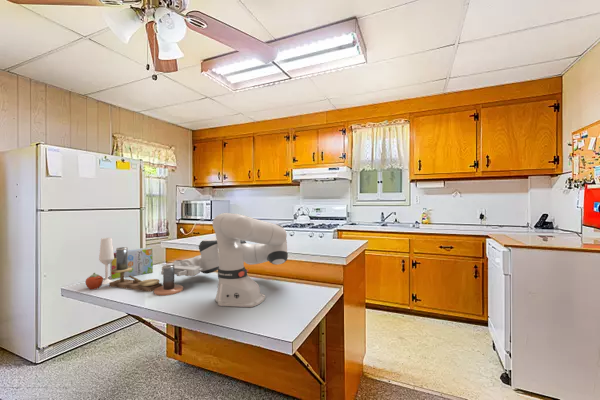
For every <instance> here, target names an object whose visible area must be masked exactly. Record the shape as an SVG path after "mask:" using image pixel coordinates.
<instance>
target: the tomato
mask: <svg viewBox="0 0 600 400" xmlns="http://www.w3.org/2000/svg"><path fill="white" fill-rule="evenodd" d="M103 281H104V277H103V276H102V275H99V274H97V273H96V272H93V273H92V274H91V275H89V276H88V277H87V278H86V279H85V281H84V282H85V285H86V287H87V288H88V289H89V290H98V289H100V287H101V286H102V285H103V284H102V283H103ZM97 288H98V289H97Z"/></svg>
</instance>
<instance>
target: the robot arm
mask: <svg viewBox="0 0 600 400" xmlns="http://www.w3.org/2000/svg"><path fill="white" fill-rule="evenodd" d="M212 228H213V231H214V234H215V239H214V238H207V239H203V240H201V242H200V243H199V244H198V250H199V253H200V254H199V255H195V256H194V257H190V258H185V259H178V260H173V262H169V263H167V264H165V265H174V275H175V276H177V277H182V276H187V277H194V276H196V275H199V274H202V273H203V274H205V275H206V274H211V273H214V272H216V271H217V279H218V283H217V285H218V286H217V291H216V296H215V299H214V300H215V302H216V303H217V306H220V307H221V306H222V307H238V308H239V307H241V308H243V307H244V308H252V307H255V306H256V307H257V306H258V305H260V304H262V303H263V302H264V301H265V300H266V295H265V294H263V293H261V289H260V285H259V284H258V282H256V281H255V280H254V279H252V277H250V276H249V275H248V272H249V270H250V268H248V269H246V267H245V265H244V263H245V264H247V265H258V264H263V263H264V264H265V263H266V262H269V263H271V264H272V265H276V266H277V265H282V264H284V263H286V262H287V260H288V257H289V255H288V242H287V236H288V235H287V231H286V229H285V228H284V226H282V225H280V224H275V223H272V222H269V221H265V220H262V219H261V220H260V219H256V218H253V217H250V216H247V215H244V214H241V213H231V212H223V213H220V214H217V215H216V216H215V217H214V218H213V219H212ZM247 242H250V243H255V244H250V243H247ZM165 265H162V267H161V271H160V275H162V276H163V266H165ZM200 272H201V273H200Z"/></svg>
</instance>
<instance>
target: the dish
mask: <svg viewBox="0 0 600 400" xmlns="http://www.w3.org/2000/svg"><path fill="white" fill-rule="evenodd" d="M183 291H184V286H183V285H181V284H178V283H177V284H176V283H174V288H173V289H170V290H164V289H163V285H162V286H160V287H158V288H156V289H155V290H154V291H153V294H154V295H156V296H172V295H175V294H176V295H177V294H179V293H180V292H183Z"/></svg>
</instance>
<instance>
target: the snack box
mask: <svg viewBox="0 0 600 400" xmlns="http://www.w3.org/2000/svg"><path fill="white" fill-rule="evenodd" d="M113 253H114V259H113V261H112V262H111V263H110V264H109V265H110V271H109V272H110V278H111V280H114V278H115V279H120V273H113V272H112V270H113V269H115V268H116V250H113ZM153 265H154V263H153V248H152V247H144V248H143V247H141V248H133V249H128V267H132V270H131V271H128V272H124V278H126V277H129V276H130V275H131V276H133V277H134V276H139V275H145V274H151V273H153V272H154V269H153V268H154V266H153Z"/></svg>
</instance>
